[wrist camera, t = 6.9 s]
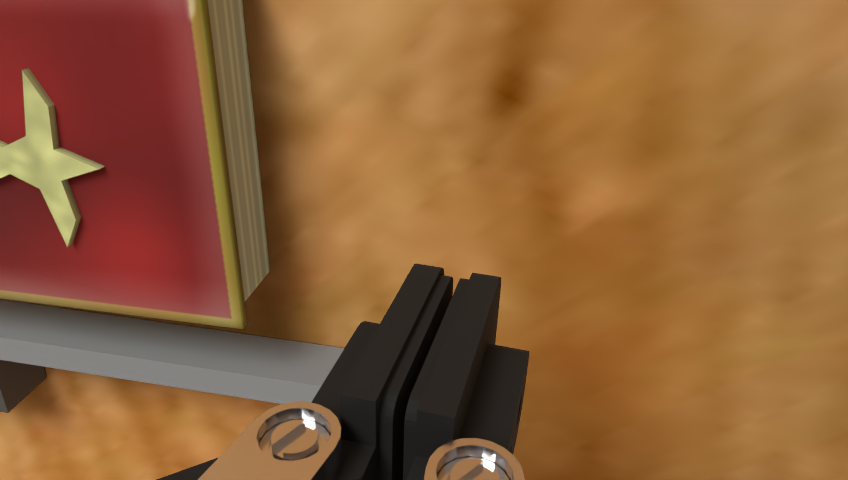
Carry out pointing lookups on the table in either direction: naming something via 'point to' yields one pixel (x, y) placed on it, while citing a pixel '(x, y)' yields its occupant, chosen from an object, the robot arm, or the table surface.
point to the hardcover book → (129, 159)
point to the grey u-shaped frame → (153, 355)
